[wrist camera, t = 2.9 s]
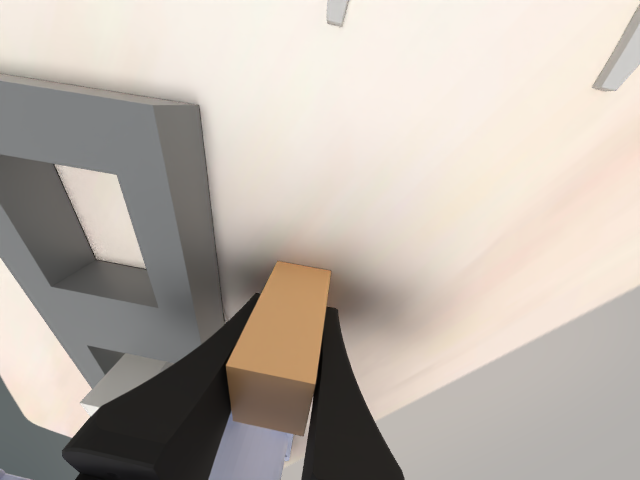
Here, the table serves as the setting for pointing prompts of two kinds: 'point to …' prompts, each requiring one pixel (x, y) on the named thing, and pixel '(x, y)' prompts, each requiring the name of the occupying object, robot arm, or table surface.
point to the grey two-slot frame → (144, 209)
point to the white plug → (122, 380)
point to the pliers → (629, 53)
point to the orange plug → (280, 351)
